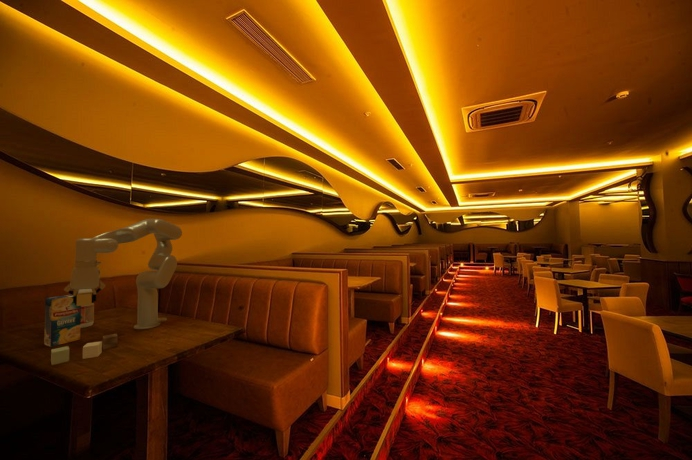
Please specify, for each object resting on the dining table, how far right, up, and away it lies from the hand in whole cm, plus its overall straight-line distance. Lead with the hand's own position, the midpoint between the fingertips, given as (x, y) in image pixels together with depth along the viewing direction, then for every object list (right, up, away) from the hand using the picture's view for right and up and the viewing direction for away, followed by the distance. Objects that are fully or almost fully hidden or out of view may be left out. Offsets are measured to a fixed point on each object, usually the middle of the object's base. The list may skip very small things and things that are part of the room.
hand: (85, 303), depth 132 cm
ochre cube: (0, -1, 0) cm, 1 cm away
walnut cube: (+12, -21, 0) cm, 24 cm away
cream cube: (+13, -20, -10) cm, 26 cm away
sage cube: (+4, -20, -16) cm, 26 cm away
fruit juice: (-30, -22, +31) cm, 48 cm away
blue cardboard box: (-17, -21, +6) cm, 27 cm away
